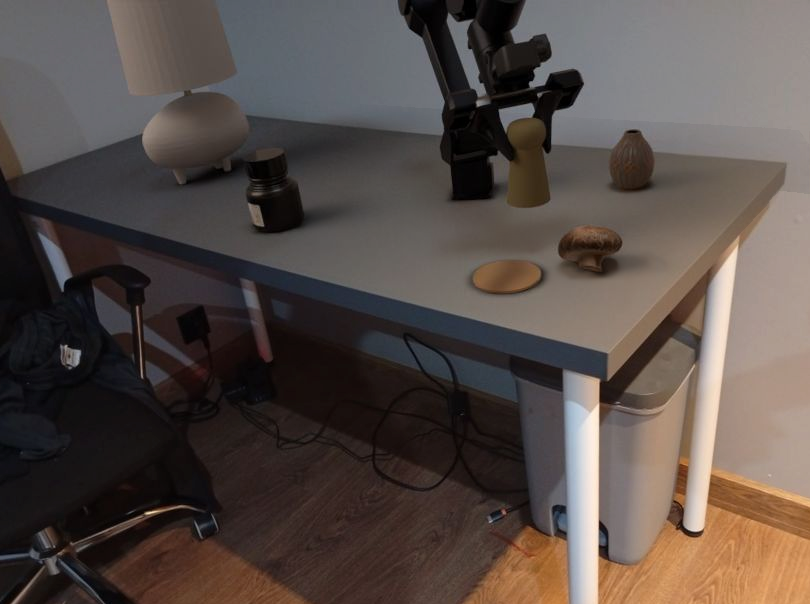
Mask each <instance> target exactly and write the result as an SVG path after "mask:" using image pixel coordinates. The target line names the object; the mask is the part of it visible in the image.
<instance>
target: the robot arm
mask: <svg viewBox="0 0 810 604" xmlns="http://www.w3.org/2000/svg"><path fill="white" fill-rule="evenodd" d="M526 2H527V0H397V7H398V12H399V14H400V15H401V17H402V16H403V18H404V21H405V23H406V26H407V27H408V28H407V29H409V30H410V31H411V32H413V33H414V34H416V35H417V36H418V37H420V38H421V39H422V42H423V45H424V48H425V50H426V53H427V55H428V58H429V59H428V60H429V62H430V64H431V67H432V70H433V73H434V76H435V78H436V81H437V84H438V88H439V90H440V94H441V96H442V99H443V101H444V103H443V106H442V110H441V121H442V125H443V133H442V137H441V140H440V142H439V153H440V157H441V160H442V161H443V162H445V163H446V164H447V165H448V166H450V167H449V168H450V178H451V185H452V186H451V188H452V193H451V195H450V198H451V200H453V201H454V200H474V199H477V200H478V199H489V198H490V196H491V193H492V191H493V190H494V189H495V185H496V184H495V170H494V169H495V168H494V163H493V162H491V160H490V157H496V156H498V155H499V153H500V154H501V155H502V156H503V157H504V158H505V159H506V160H507V161H508V162H509V163H510V162H511V161H513V159H514V155H513V151H512V147H511V145H510V142H509V140H508V137H507V135H506V130H505V127H504V125H503V122H502V120H501V116H500V110H504V109H510V108H514V107H519V106H524V105H529V104H531V105H532V107H533V110H534V112H533V114H532V116H531V118H537V119H540V120H541V121H543V123H544V124H545V128H546V137H545V140H544V142H543V143H542V148H543V151H544V152H545V154H546V155H548V154H550V153H551V151H552V131H553V127H552V126H553V123H552V122H553V115H554V114H555V112H557V111H561V110H566V109H569V108H572V106H573V105H574V104H575V103H576V100H577V98H578V96H579V95H580V93H581V91H582V89H583V87H584V85H585V81H584V78H583V76H582V74H581V72H580V71H579V70H578V69H576V68H570V69H564V70H560V71H554V72H550V73H549V75H548V77H547V80H546V81H545V84H543V85H537V86H532V87H531V86H530V83H531V82H534V80H535V78H536V74H535V70H536V69H537V68H540V67H541V66H542V64H543V63H547V62H548V61H549V60H550V59H551V58H552V56H553V52H552V46H551V42H550V40H549V38H548V35H547V33H540V34H536V35H532V38H530V39H528V40H526V41H522V42H515V40H514V36H513V34H512V30H513V29H515V28H516V27H517V26H518V24H519V21H520V18H521V16H522V13H523V11H524V7H525V5H526ZM449 16H451V18H453V20H454V21H455V22H456V23H464V22H469V21H470V23H469V24H468V28H467V30H466V37H467V50H471V52H472V54H473V57H474V60H475V63H476V66H477V70H478V72H479V73H478V76H477V79H478V82H479V84H480V85H481V84H483V87H484V91H485V93H483V94H478V92H477V90H476V89H475V88H471V85H470V82H469V79H468V77H467V74H466V71H465V68H464V66H463V63H462V60H461V57H460V54H459V52H458V49H457V46H456V43H455V41H454V38H453V35H452V33H451V29H450V27H449V24H448V19H449Z"/></svg>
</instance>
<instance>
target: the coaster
mask: <svg viewBox="0 0 810 604" xmlns="http://www.w3.org/2000/svg"><path fill="white" fill-rule="evenodd" d="M541 279H542V271H541V269H540V268H539V267H538V266H537V265H536V264H534V263H532V262H529V261H525V260H514V259H512V260H511V259H509V260H507V259H505V260H499V261H493V262H490V263H488V264H485V265H483V266H480V267H479V268H478V269H477V270H476V271H475V272H474V273H473V275H472V282H473V285H474V287H476V288H477V289H479V290H480V291H482V292H486V293H490V294H499V295H501V294H502V295H507V294H514V293H520V292H524V291H527V290H529V289H531V288H533V287H534V286H536V285H537V284H539V282H540V281H541Z"/></svg>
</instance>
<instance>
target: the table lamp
mask: <svg viewBox="0 0 810 604" xmlns="http://www.w3.org/2000/svg"><path fill="white" fill-rule="evenodd" d="M106 2H107V7H108V10H109V16H110V19H111V23H112V28H113V31H114V35H115V40H116V45H117V48H118V52H119V56H120V60H121V64H122V68H123V74H124V77H125V81H126V86H127V89H128V93H129V94H130V95H132V96H137V97H139V96H140V97H149V96H161V95H170V94H176V93H180V92H183V95H182V96H180V97H177V98H176V99H173V100H172V101H170V102H168V103H167V104H166V105H165V106H163V107H162V108H161V109H160V110H159V111H158V112H157V113H156V114H155V115H154V116H153V117H152V118H151V119H150V121H148V123H147V125H146V126H145V128H144V130H143V132H142V139H141V140H142V146H143V149H144V151H145V154H146V155H147V157H148V158H149V159H150V160H151V162H153V163H155V164H156V165H158V166H160V167H163V168H168V169H172V171H173V174H174V176H175V178H176V180H177V182H178V184H179V185H185V184H187V174H186V169H192V168H193V169H194V168H198V167H199V168H200V167H204V166H207V165H211V164H213V165H214V167H215V169H223V171H224V172H229V171H232V165H231V155H233V154H235V153H236V152H238V151H239V150H240V149H241V148H242V147H243V145H244V144H245V143H246V142H247V140H248V138H249V134H250V125H249V121H248V118H247V116H246V113H245V111H244V110H243V109H242V107H241V106H240V105H239V104H238V103H237V102H236V100H234V99H233V98H231V97H230V96H228V95H226V94H224V93H221V92H218V91H217V92H215V91H197V92H192V90H195V89H200V88H204V87H205V88H206V87H208V86H212V85H215V84H218V83H221V82H225V81H226V80H229V79H231V78H233V77H235V76H236V75H237V74H238V70H237V65H236V63H235V59H234V57H233V54H232V50H231V47H230V44H229V41H228V37H227V34H226V32H225V28H224V25H223V22H222V19H221V15H220V12H219V9H218V6H217V2H216V0H106Z"/></svg>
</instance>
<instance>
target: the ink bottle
mask: <svg viewBox="0 0 810 604" xmlns="http://www.w3.org/2000/svg"><path fill="white" fill-rule="evenodd" d="M242 160H243V164H244V169H245V172H246V176H247V179H248V181H249V184H248V185H247V187H246V189H245V198H246V202H247V205H248V209H249V213H250V217H251V220H252V221H251V222H252V224H253V227H254V229H255V230H256V231H259V232H263V233H265V232H266V233H271V232H280V231H285V230H288V229H291V228H295V227H296V226H298V225H299V224H301V223H302V221H303V220H304V219H305V212H304V207H303V201H302V197H301V193H300V188H299V183H298V181H297V179H295V178H294V177H292V176H291V175H290V174H289V166H288V160H287V156H286V152H285V149H283V148H279V147H268V148H261V149H257V150H254V151H252V152H249V153H247V154H245V155H244V156H243V159H242Z"/></svg>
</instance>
